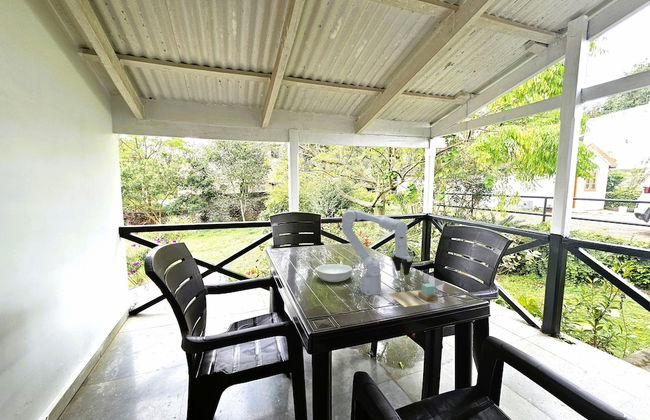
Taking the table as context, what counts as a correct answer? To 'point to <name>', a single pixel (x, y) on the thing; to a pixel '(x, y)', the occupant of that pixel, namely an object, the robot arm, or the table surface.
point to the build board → (410, 298)
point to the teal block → (427, 289)
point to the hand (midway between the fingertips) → (402, 272)
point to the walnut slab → (428, 297)
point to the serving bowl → (334, 272)
